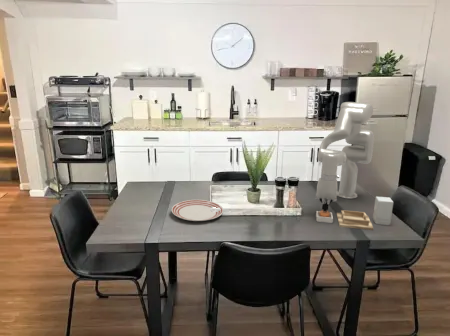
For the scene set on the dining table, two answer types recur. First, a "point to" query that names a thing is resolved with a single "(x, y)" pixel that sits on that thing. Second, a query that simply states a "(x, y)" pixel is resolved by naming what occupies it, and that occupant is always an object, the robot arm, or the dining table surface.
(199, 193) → the dining table surface
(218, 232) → the dining table surface
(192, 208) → the dinner plate
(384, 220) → the supplement box
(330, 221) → the button housing
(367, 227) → the pallet
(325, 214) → the button
